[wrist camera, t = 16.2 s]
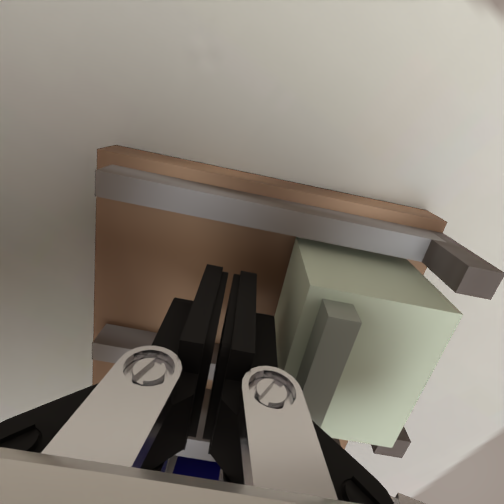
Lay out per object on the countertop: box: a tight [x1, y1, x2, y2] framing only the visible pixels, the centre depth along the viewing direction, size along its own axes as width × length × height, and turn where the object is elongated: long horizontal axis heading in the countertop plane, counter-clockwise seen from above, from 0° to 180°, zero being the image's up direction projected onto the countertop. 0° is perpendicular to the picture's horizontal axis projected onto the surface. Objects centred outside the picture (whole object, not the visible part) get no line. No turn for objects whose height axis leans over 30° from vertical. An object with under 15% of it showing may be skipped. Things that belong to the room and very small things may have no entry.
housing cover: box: [274, 237, 463, 448], centre depth 10 cm, size 4×5×4 cm
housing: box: [92, 145, 504, 462], centre depth 14 cm, size 12×18×5 cm, turn 169°
